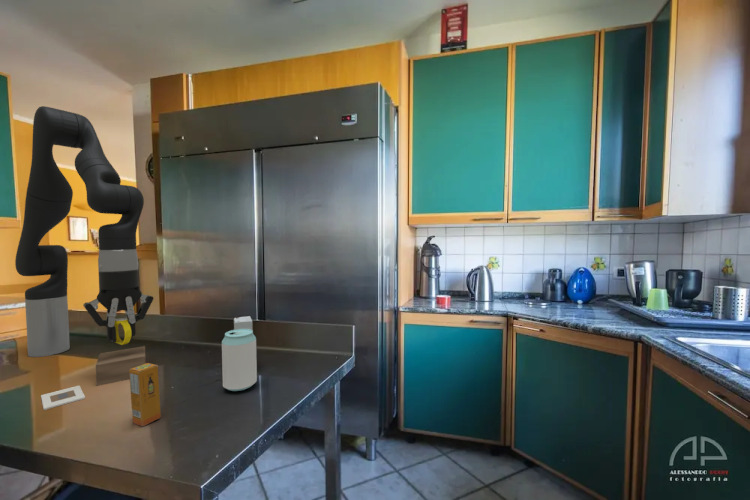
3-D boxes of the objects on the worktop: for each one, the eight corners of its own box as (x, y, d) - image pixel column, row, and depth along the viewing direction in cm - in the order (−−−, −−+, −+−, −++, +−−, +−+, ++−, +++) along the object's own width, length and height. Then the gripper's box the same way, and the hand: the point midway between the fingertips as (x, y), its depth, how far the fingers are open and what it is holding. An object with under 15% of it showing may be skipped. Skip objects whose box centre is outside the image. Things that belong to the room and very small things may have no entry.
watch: (107, 343, 79) (107, 319, 79) (120, 340, 81) (120, 316, 81) (122, 347, 76) (121, 321, 76) (135, 343, 79) (134, 319, 79)
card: (40, 396, 68) (40, 394, 68) (79, 386, 73) (79, 384, 73) (43, 410, 63) (43, 408, 63) (85, 398, 67) (85, 396, 67)
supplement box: (150, 414, 61) (148, 361, 61) (161, 418, 60) (159, 364, 60) (130, 423, 58) (128, 368, 58) (141, 428, 57) (139, 371, 57)
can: (223, 395, 69) (222, 338, 68) (222, 382, 75) (220, 330, 74) (258, 388, 72) (258, 334, 71) (254, 376, 78) (253, 326, 77)
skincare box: (255, 368, 83) (254, 320, 82) (235, 371, 81) (234, 322, 80) (252, 359, 88) (251, 315, 88) (234, 362, 86) (233, 317, 86)
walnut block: (100, 373, 80) (100, 353, 80) (145, 364, 86) (145, 346, 85) (96, 387, 73) (95, 365, 73) (145, 377, 78) (145, 356, 78)
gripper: (149, 265, 86) (151, 330, 87) (77, 269, 75) (80, 343, 76) (157, 267, 81) (159, 336, 82) (82, 272, 70) (85, 351, 71)
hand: (121, 339), depth 79 cm, fingers closed on watch, 2 cm apart
